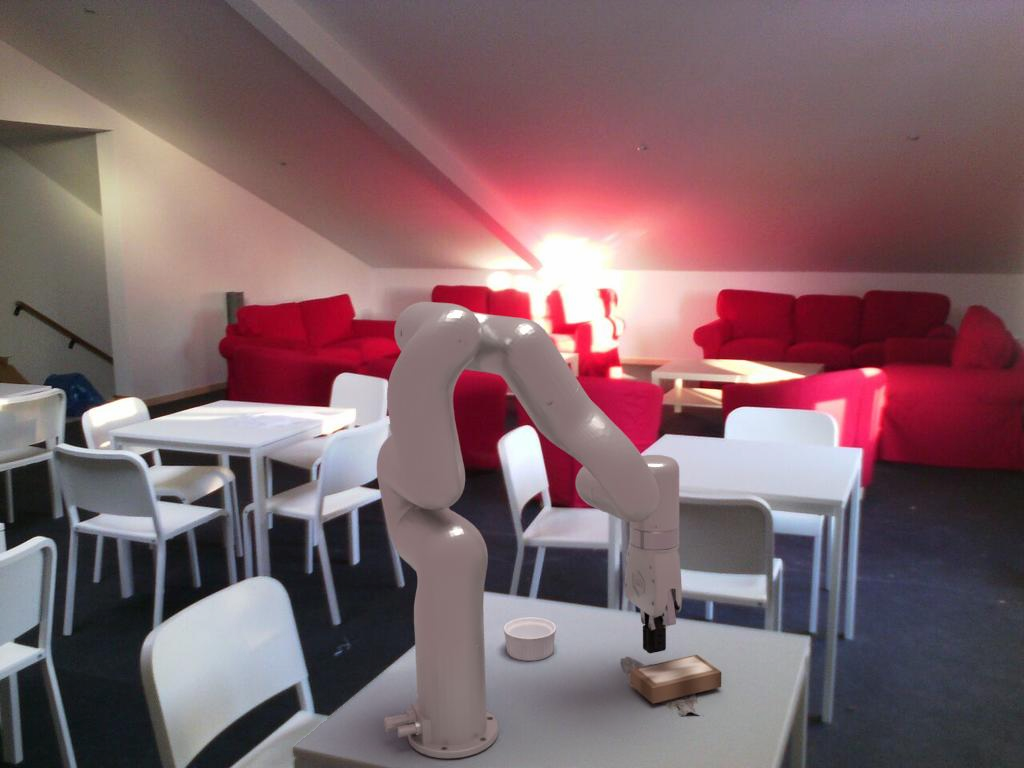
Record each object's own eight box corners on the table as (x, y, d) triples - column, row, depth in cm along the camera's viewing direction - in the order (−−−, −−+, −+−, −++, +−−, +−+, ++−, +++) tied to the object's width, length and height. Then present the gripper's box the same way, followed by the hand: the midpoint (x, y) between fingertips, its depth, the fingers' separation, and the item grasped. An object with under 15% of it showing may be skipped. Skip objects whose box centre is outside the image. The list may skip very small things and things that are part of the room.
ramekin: (500, 643, 152) (499, 619, 151) (549, 637, 154) (549, 614, 153) (509, 666, 143) (508, 640, 143) (562, 660, 145) (561, 635, 144)
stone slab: (617, 657, 144) (677, 651, 144) (617, 667, 144) (678, 661, 144) (637, 717, 126) (706, 710, 126) (638, 729, 126) (707, 722, 126)
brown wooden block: (630, 684, 134) (652, 703, 129) (630, 668, 134) (652, 686, 128) (696, 668, 139) (721, 686, 133) (696, 653, 139) (721, 670, 133)
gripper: (609, 526, 140) (610, 635, 143) (658, 554, 126) (658, 675, 129) (650, 520, 143) (650, 627, 145) (702, 547, 129) (701, 665, 132)
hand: (654, 649), depth 137 cm, fingers closed
